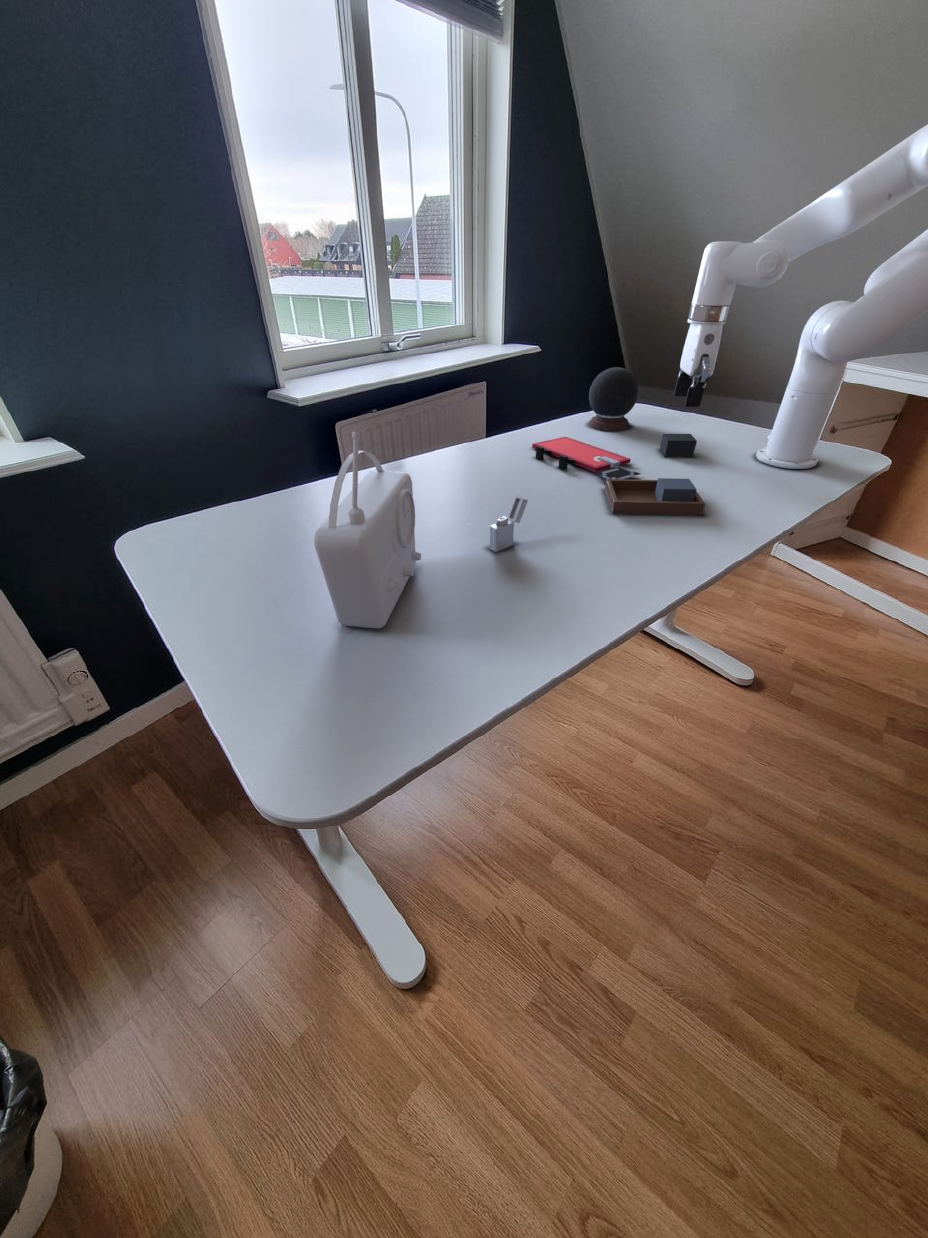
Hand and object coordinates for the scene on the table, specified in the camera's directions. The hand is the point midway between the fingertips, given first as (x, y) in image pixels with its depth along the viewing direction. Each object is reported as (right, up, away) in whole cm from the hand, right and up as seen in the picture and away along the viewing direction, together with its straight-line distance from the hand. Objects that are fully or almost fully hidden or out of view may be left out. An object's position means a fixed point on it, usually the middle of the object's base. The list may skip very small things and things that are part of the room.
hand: (685, 401), depth 115 cm
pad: (-10, -27, -16) cm, 33 cm away
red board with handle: (-23, -13, +4) cm, 27 cm away
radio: (-63, -47, -40) cm, 88 cm away
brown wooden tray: (-14, -27, -16) cm, 34 cm away
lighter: (-44, -38, -28) cm, 64 cm away
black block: (+1, -10, +7) cm, 12 cm away
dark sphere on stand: (-10, +5, +28) cm, 30 cm away
